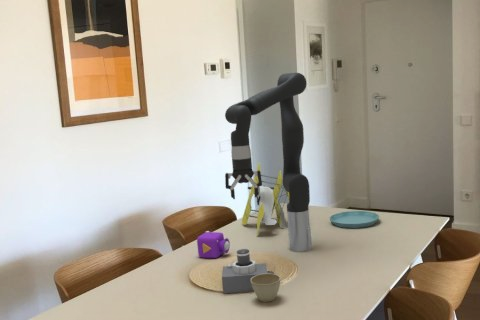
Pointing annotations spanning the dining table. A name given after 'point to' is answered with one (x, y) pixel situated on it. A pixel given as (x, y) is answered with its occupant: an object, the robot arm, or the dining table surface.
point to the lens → (243, 257)
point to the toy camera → (212, 244)
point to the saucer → (354, 219)
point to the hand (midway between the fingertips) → (244, 197)
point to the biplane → (266, 203)
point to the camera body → (240, 276)
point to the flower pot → (266, 286)
